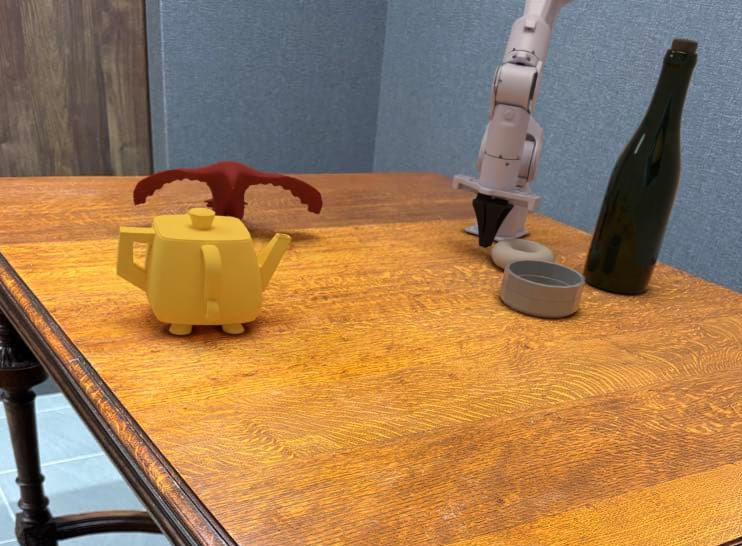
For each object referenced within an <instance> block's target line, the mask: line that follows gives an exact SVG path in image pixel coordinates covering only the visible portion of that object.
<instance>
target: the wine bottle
mask: <svg viewBox="0 0 742 546" xmlns="http://www.w3.org/2000/svg"><path fill="white" fill-rule="evenodd" d="M698 47H699V42H698V41H696V40H692V39H689V38H688V39H687V38H676V37H675V38H673V40H672V42H671V46H670V48H667V49H666V51H665V53H664V55H663V59H662V65H661V69H660V72H659V75H658V78H657V82H656V85H655V87H654V90H653V93H652V97H651V99H650V101H649V104H648V106H647V109H646V112H645V113H644V115H643V117H642V118H641V121H640V123H639V124H638V125H637V127H636V129H635V131H634V132H633V133H632V135H631V136H630V138H629V140H628V141H627V143H626V144H625V145H624V147H623V149H622V150H621V152H620V153H619V155H618V157H617V159H616V161H615V163H614V165H613V166H612V167H613V168H612V170H611V173H610V176H609V178H608V181H607V185H606V187H605V191H604V195H603V198H602V201H601V204H600V208H599V211H598V214H597V218H596V222H595V225H594V228H593V232H592V235H591V239H590V243H589V245H588V248H587V252H586V257H585V260H584V262H583V263H584V264H583V267H582V273H581V274H582V275H583V276H584V277H585V282H587V283H589V284H590V285H592V286H593V287H596V288H598V289H601V290H604V291H608V292H612V293H617V294H628V295H629V294H631V295H632V294H633V295H634V294H639V293H642V292H645V291H646V290H647V289H648V287H649V286H650V283H651V280H652V277H653V275H654V271H655V268H656V265H657V261H658V259H659V256H660V253H661V249H662V245H663V243H664V239H665V236H666V233H667V230H668V226H669V223H670V219H671V216H672V213H673V209H674V206H675V202H676V199H677V195H678V191H679V188H680V187H679V186H680V183H681V176H682V167H683V166H682V119H683V113H684V108H685V103H686V99H687V95H688V91H689V88H690V84H691V81H692V77H693V73H694V71H695V68H696V67H697V64H698V59H699V53H698V52H697V50H698Z"/></svg>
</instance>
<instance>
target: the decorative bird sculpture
mask: <svg viewBox="0 0 742 546" xmlns="http://www.w3.org/2000/svg"><path fill="white" fill-rule="evenodd" d="M184 180H189V181H191V182H192V181H198V182H199V183H206V186H207V187H208V188H209V189H210V193H211V197H212V198H209V199H206V200H203V203H205V207H207V208H211V210H212V211H214V212H215V216H226V217H234V218H238V219H239V220H240V221H242V220H244V219H243V218H244V216H245V209H246V206H247V205H249V203H248V202H246V201H245V194H246V191H247V190H248V189H249V188H250V187H251V186H258V185H264V186H266V185H272V186H273V187H278V186H279V187H281V188H282V189H283V190H284V191H290V193H291V195H292V196H293V197H294V198H298V199H299V200H300V201H299V202H300V204H302V205H307V211H308V212H309V213H313V214H315V215H320V213H321V212H322V208H323V204H324V202H323V199H322V198H323V197H322V194H321V192H320V191H319V190H318V189H317V188H315V187H314V186H312V184H310V183H308V182H306V181H304V180H302V179H299V178H297V177H294V176H290V175H284V174H281V173H277V172H276V173H275V172H274V173H270V172H263V171H262V170H258V169H255V168H253V167H250V166H249V165H246V164H244V163H241V162H238V161H234V160H233V161H232V160H222V161H218V162H216V163H211V164H210V165H205V166H200V167H194V168H193V167H191V168H187V167H186V168H185V167H179V168H172V169H166V170H162V171H161V170H160V171H157V172H155V173H152V174H151V175H148V176H145V177H144V178H142V179H141V180H139V181H138V182H137V183H136V185H135V186H134V189H133V191H132V198H133V199H132V200H133V204H134V206H139V205H144V204H146V202H147V197H153V196H154V194H155V192H156V191H157V190H158V191H160V190H161V189H162V188H163V187H164V186H165V185H166V184H171V183H173V182H176V181H179V182H182V181H184Z"/></svg>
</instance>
